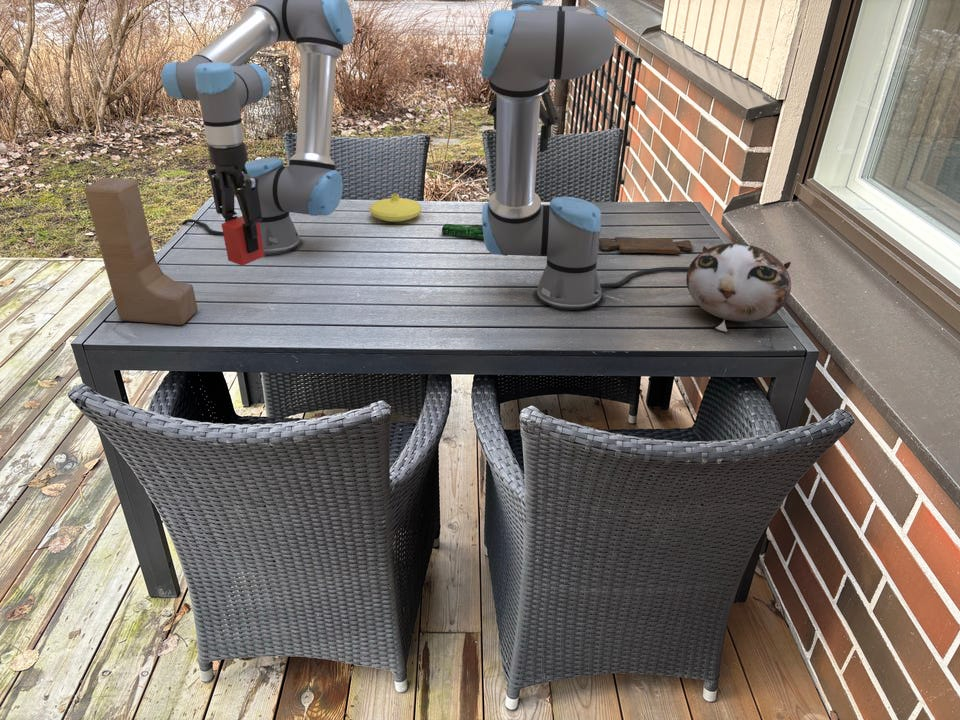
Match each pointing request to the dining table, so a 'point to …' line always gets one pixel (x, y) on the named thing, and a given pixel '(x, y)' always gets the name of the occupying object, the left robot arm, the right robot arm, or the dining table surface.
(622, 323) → the dining table surface
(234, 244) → the block
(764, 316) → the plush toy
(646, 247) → the dark wooden board
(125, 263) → the brown l-shaped piece
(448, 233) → the handgun
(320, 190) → the left robot arm
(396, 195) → the yellow lid
